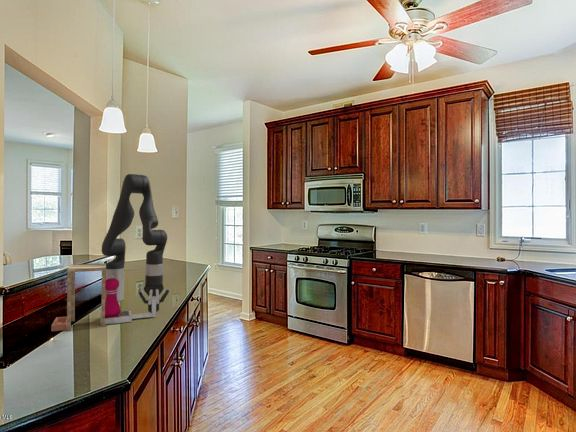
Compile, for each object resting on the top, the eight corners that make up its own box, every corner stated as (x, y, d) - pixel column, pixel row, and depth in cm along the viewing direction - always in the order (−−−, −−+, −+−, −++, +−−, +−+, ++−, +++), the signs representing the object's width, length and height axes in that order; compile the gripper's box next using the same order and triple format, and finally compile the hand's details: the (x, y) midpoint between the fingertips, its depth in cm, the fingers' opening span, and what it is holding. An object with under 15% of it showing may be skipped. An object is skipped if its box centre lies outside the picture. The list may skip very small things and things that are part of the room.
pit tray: (56, 323, 151) (56, 317, 151) (69, 321, 153) (69, 316, 153) (51, 331, 140) (51, 325, 140) (66, 329, 142) (66, 323, 142)
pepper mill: (124, 319, 156) (124, 273, 156) (110, 324, 150) (111, 276, 150) (111, 318, 159) (112, 273, 159) (97, 322, 152) (98, 275, 152)
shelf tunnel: (71, 320, 154) (71, 264, 155) (105, 317, 160) (106, 263, 160) (67, 330, 141) (67, 269, 141) (104, 326, 146) (105, 267, 147)
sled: (101, 318, 157) (101, 300, 158) (154, 312, 167) (154, 295, 167) (100, 325, 148) (100, 305, 148) (156, 318, 157) (156, 300, 157)
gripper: (169, 271, 168) (168, 308, 168) (137, 273, 162) (136, 311, 162) (171, 274, 161) (170, 312, 161) (138, 275, 155) (137, 315, 155)
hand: (153, 311), depth 162 cm, fingers closed on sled, 2 cm apart
